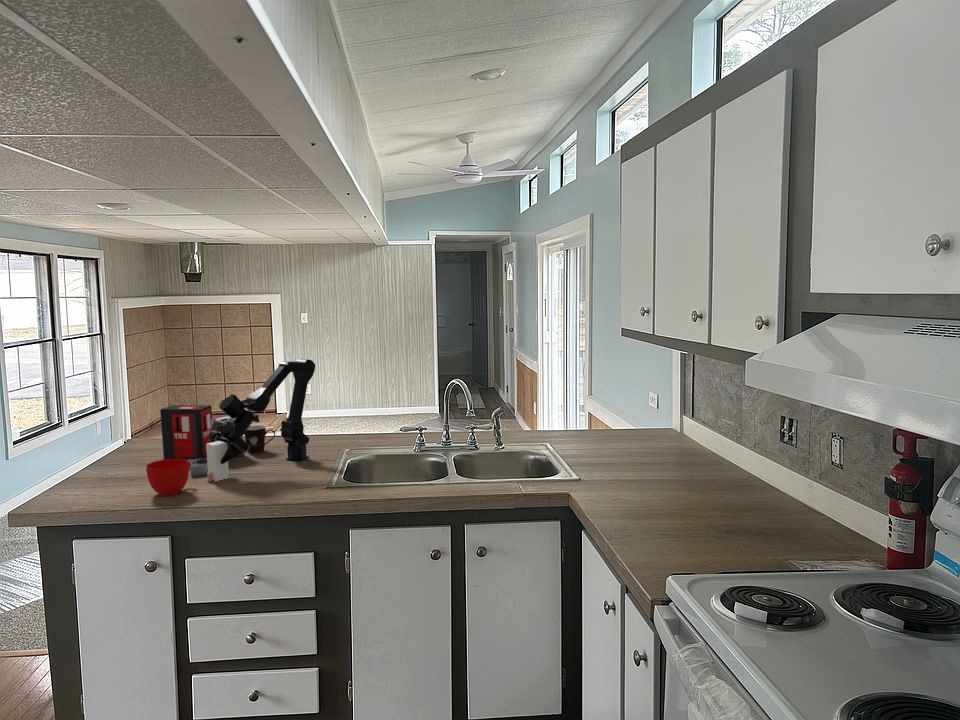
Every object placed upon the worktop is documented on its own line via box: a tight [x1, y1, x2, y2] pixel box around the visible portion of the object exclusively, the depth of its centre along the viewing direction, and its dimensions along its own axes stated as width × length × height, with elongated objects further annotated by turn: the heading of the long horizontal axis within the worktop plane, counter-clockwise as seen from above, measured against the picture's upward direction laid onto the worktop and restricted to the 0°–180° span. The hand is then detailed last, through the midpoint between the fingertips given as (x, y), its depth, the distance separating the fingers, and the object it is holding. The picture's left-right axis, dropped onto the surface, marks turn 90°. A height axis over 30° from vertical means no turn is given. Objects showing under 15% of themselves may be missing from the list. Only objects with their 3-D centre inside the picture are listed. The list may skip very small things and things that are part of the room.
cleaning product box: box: [159, 404, 213, 460], centre depth 280 cm, size 16×9×20 cm, turn 84°
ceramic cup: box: [145, 459, 190, 497], centre depth 234 cm, size 13×17×10 cm
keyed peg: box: [206, 441, 230, 482], centre depth 247 cm, size 6×5×13 cm
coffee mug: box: [244, 425, 276, 454], centre depth 286 cm, size 12×9×10 cm
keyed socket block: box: [187, 458, 208, 477], centre depth 259 cm, size 12×12×4 cm
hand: (214, 461), depth 246 cm, fingers open, 9 cm apart
